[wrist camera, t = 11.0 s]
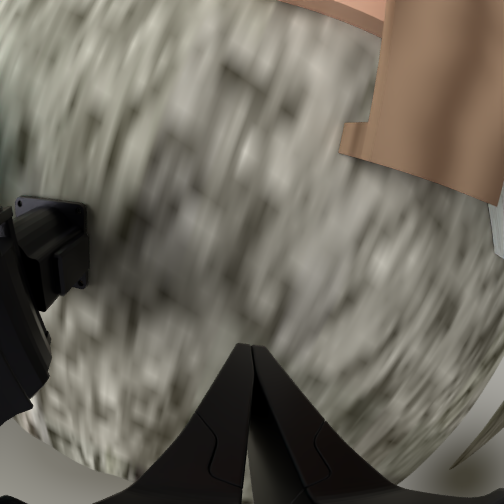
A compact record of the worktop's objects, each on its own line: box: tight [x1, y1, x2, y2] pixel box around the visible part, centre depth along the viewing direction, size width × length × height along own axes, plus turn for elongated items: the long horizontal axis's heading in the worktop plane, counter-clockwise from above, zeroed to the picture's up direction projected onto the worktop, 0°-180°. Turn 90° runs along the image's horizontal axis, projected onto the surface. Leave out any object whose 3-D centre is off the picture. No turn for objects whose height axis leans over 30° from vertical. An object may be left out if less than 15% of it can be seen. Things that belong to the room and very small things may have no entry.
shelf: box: [338, 0, 504, 207], centre depth 13 cm, size 10×20×5 cm, turn 170°
